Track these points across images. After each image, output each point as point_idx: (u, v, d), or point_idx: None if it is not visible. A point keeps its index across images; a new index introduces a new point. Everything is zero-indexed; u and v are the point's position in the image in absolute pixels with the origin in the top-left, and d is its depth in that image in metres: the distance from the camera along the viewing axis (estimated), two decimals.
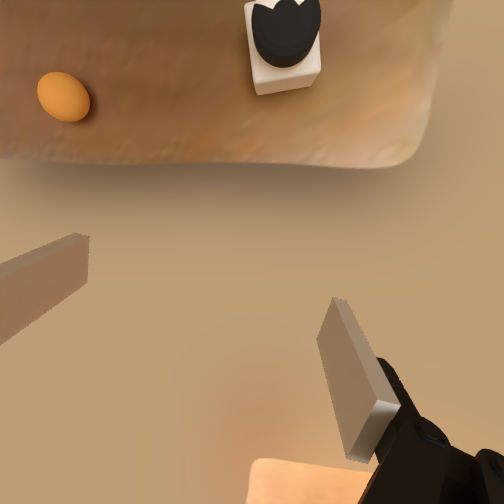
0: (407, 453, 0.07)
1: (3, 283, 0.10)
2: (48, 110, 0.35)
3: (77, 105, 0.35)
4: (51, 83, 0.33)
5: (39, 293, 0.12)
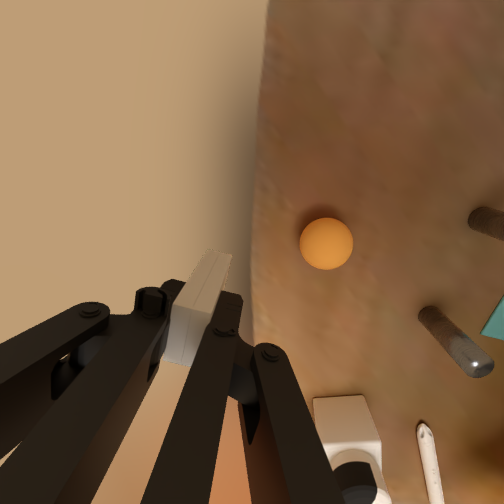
0: (208, 352, 0.09)
1: None
2: (313, 238, 0.28)
3: (316, 267, 0.30)
4: (341, 255, 0.28)
5: None
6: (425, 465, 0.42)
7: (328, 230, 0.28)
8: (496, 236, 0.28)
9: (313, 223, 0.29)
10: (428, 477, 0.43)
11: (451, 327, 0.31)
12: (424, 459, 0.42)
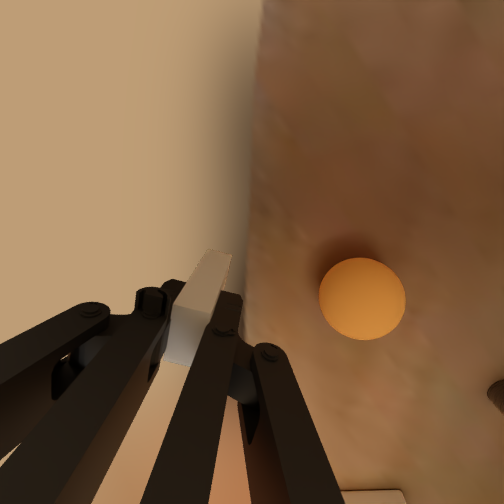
0: (208, 352, 0.09)
1: None
2: (343, 295, 0.17)
3: (345, 335, 0.19)
4: (389, 323, 0.17)
5: None
6: None
7: (368, 283, 0.17)
8: None
9: (342, 268, 0.19)
10: None
11: None
12: None
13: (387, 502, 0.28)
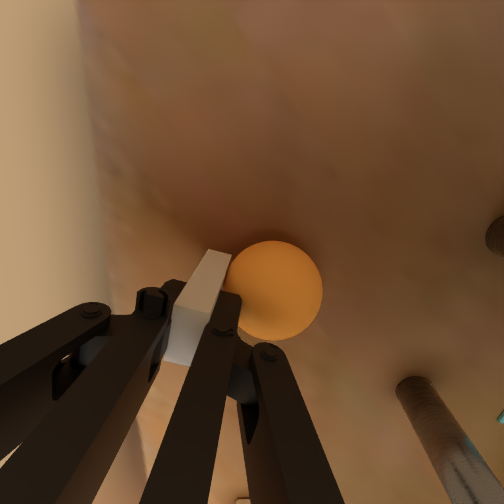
0: (207, 352, 0.09)
1: None
2: (268, 300, 0.13)
3: None
4: (315, 314, 0.15)
5: None
6: None
7: (294, 277, 0.14)
8: None
9: (255, 262, 0.14)
10: None
11: (451, 434, 0.17)
12: None
13: None
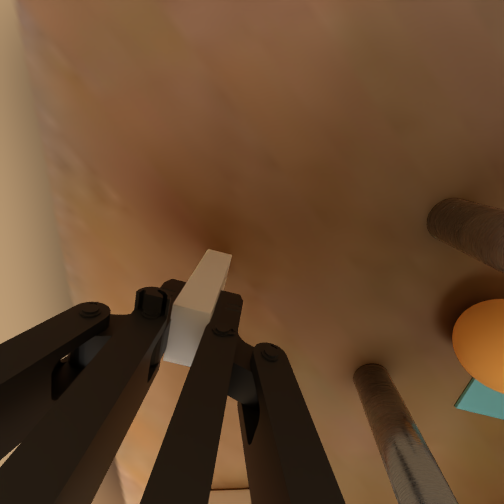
0: (208, 352, 0.09)
1: None
2: None
3: None
4: None
5: None
6: None
7: None
8: (473, 254, 0.14)
9: None
10: None
11: (395, 417, 0.17)
12: None
13: None
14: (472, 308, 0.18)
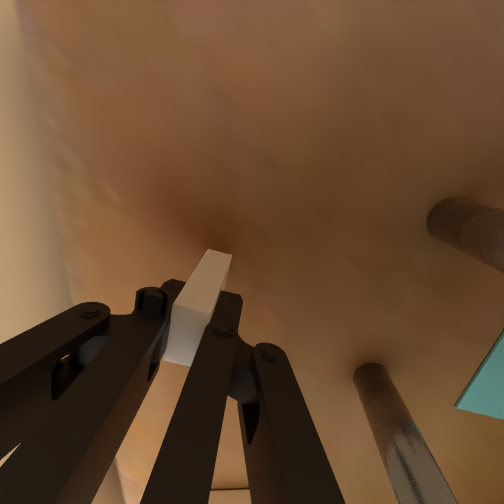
0: (208, 352, 0.09)
1: None
2: None
3: None
4: None
5: None
6: None
7: None
8: (473, 254, 0.14)
9: None
10: None
11: (395, 417, 0.17)
12: None
13: None
14: None
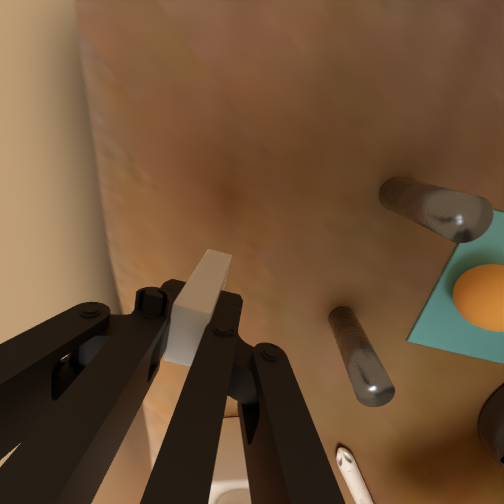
0: (208, 352, 0.09)
1: None
2: None
3: None
4: None
5: None
6: (352, 494, 0.35)
7: None
8: (403, 214, 0.20)
9: None
10: None
11: (355, 336, 0.23)
12: (349, 488, 0.35)
13: None
14: None
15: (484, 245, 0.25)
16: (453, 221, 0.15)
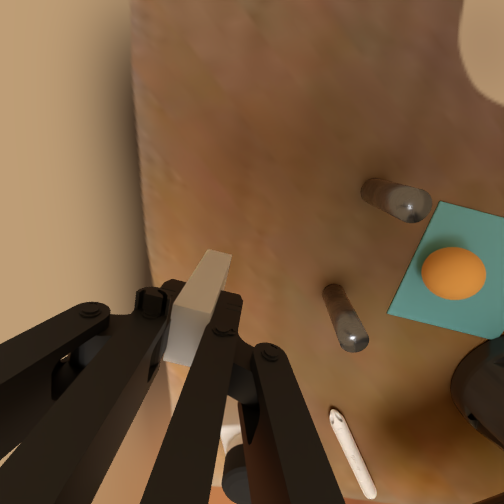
0: (208, 352, 0.09)
1: None
2: None
3: None
4: None
5: None
6: (344, 452, 0.41)
7: None
8: (376, 205, 0.27)
9: (483, 264, 0.28)
10: (350, 464, 0.42)
11: (341, 303, 0.30)
12: (341, 445, 0.41)
13: None
14: (466, 269, 0.27)
15: (446, 232, 0.31)
16: (404, 207, 0.22)
